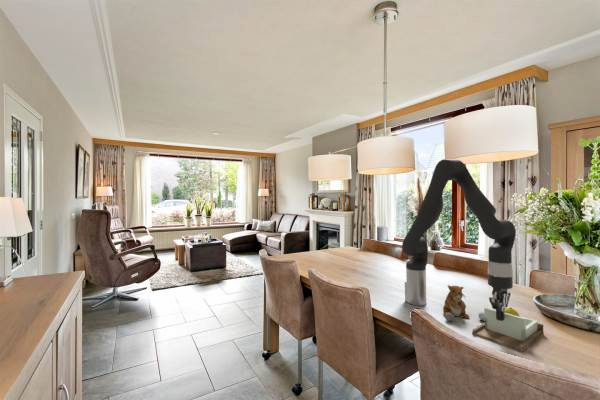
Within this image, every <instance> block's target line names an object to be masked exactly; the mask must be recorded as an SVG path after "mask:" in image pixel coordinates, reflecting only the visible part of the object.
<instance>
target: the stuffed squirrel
mask: <svg viewBox="0 0 600 400" xmlns="http://www.w3.org/2000/svg"><path fill="white" fill-rule="evenodd" d="M447 288H448V290H449V291H448V293H447V295H446V297H445V298H446V299H445V300H444V304H443V307H442V311H443V316H444V317H445V314H446V313H452V314H453V315H454V317H460V318H463V319H464V318H465V319H470V315H469V314H468V313H466V308H467V305H466V303H465V302H464V300H462V298H464V299H465V298H466V297H467V296H466V295H464V294H463V291H462V290H463V289H464V286H458V285H450V284H449V285H447Z"/></svg>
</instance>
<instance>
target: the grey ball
mask: <svg viewBox="0 0 600 400" xmlns="http://www.w3.org/2000/svg"><path fill="white" fill-rule="evenodd" d="M444 317H445V320H446V321H447V322H453V321H455V316H454V315H453V314H452V313H446V314H445V316H444Z"/></svg>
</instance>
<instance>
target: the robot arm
mask: <svg viewBox="0 0 600 400" xmlns="http://www.w3.org/2000/svg"><path fill="white" fill-rule="evenodd" d="M449 181H454V182H455V183H456V184H457V185H458V186H459V187H460V188H461V190H462V192H463V195H464V196H463V197H464V200H465V202H466V205H467V206H468V208H469V209H470V211H471V212H472V213H473V214H474V215H475V217H476V219H477V221H478V224H479V225H480V226H479V227H481V229H482V232H483V233H484V235H485V236H487V238H488V239H489V238H490V239H491V240H494V241H493V242H494V243H493V244H492V245H490V246H489V247H488V264H487V285H488V286H490V287H492V291H491V296H492V297H488V300H489V303H490V304H491V307H492V308H491V309H493V310H496V319H497V320H500V321H503V320H504V310H505V309H506V308H508V306H509V303H510V302H509V301H510V297H511V292H509V291H508V290H511V289H512V288H513V282H514V281H513V280H514V279H513V277H514V275H513V263H512V260H513V259H512V250H513V248H514V244H515V241H516V240H515V239H516V234H517V232H516V230H517V229H516V226H515V225H514V223H513V222H512V221H511V220H508V219H498V218H497V217H496V214H497V209H496V207H495V205H493V204H492V202H491V201H490V200H489V198H487V196H485V194H484V193H483V192H482V190H481V189H480V188H479V186H478V185H477V183H476V181H475V179H474V178H473V177H472V175H471V173H470V171H469V170H468V168H467V166H466V165H465V163H464V162H463V161H461V160H459V159H455V158H454V159H452V158H450V159H449V158H444V159H441V160H439V161H438V162H437V164H436V166H435V167H434V170H433V173H432V176H431V180H430V183H429V186H428V189H427V190H426V193H425V196H424V199H423V200H422V201H421V204H420V207H419V208H418V212H417V214H416V216H415V218H414V221H412V222H413V223H412V225H411V226H410V229H409V230H408V232H407V234H406V235H405V237H404V238H403V241H402V245H401V249H402V251H403V252H402V253H404V255H406V256H408V257H409V256H411V258H410V259H408V261H406V264H405V270H406V271H405V272H406V273H405V274H406V277H405V278H406V281H405V282H404V301H405V302H406V303H408V304H410V305H413V306H420V307H422V306H426V305H427V268H426V267H427V265H428V260H429V259H428V258H429V257H428V256H429V255H428V254H429V251H428V250H429V248H428V242H427V240H426V239H425V237H423V236H424V234H426V233H427V231H429V229H431V228H432V227H433V226H434V225H435V224H436V223H437V221H438V220H439V218H440V216H441V214H442V211H443V208H444V198H443V195H444V194H443V193H444V190H445V188H446V185H447V184H448V182H449Z"/></svg>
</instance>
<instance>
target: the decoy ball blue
mask: <svg viewBox="0 0 600 400" xmlns="http://www.w3.org/2000/svg"><path fill="white" fill-rule="evenodd" d="M478 319H479V320H480V321H484V322H485V317H484V311H480V312H479V313H478Z"/></svg>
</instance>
